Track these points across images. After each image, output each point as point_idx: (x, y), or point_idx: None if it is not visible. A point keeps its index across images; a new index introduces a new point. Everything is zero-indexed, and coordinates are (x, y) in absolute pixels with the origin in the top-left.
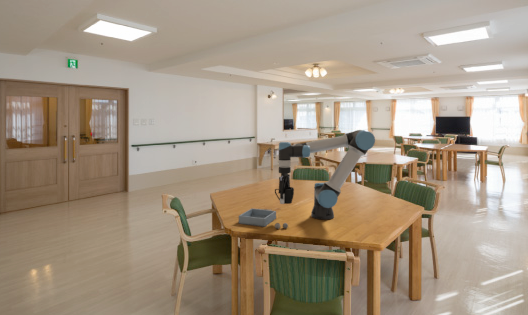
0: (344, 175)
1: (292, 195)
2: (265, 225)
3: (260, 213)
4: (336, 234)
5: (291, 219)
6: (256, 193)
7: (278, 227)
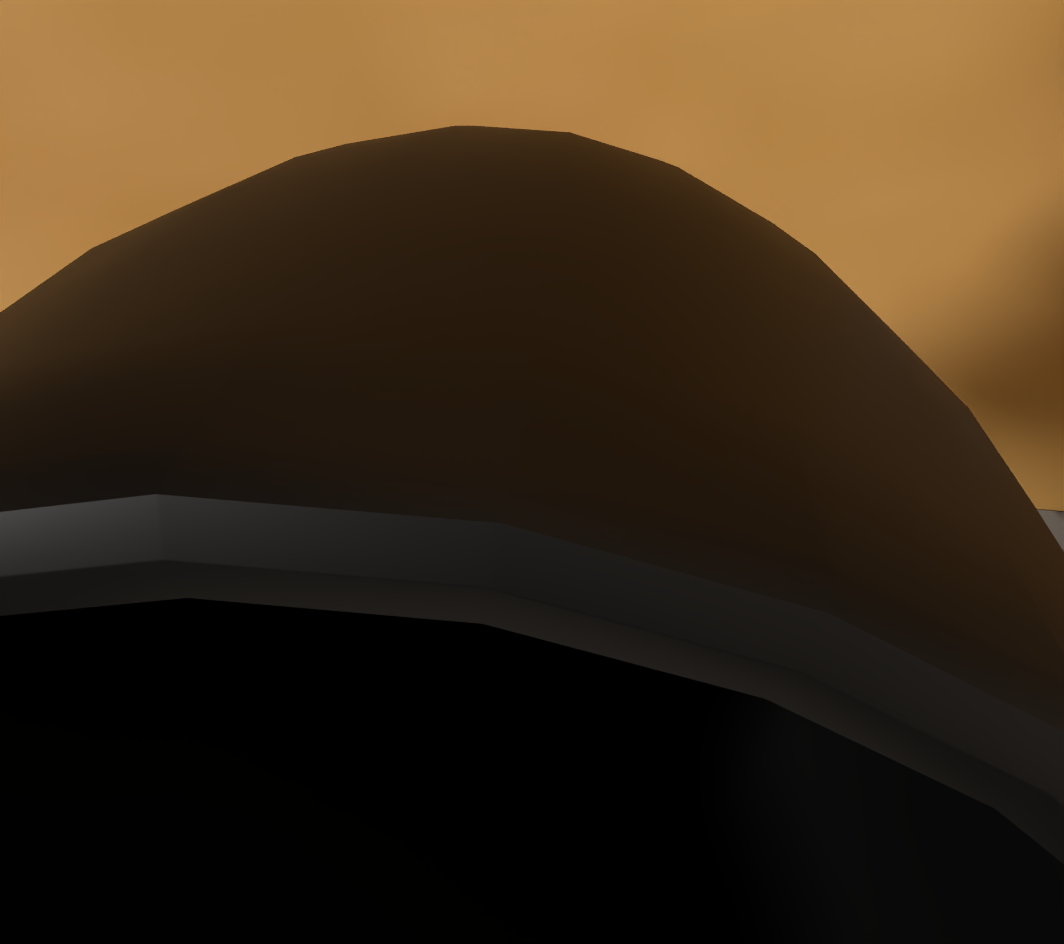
0: None
1: (665, 177)
2: (1045, 521)
3: None
4: None
5: (278, 78)
6: None
7: None
